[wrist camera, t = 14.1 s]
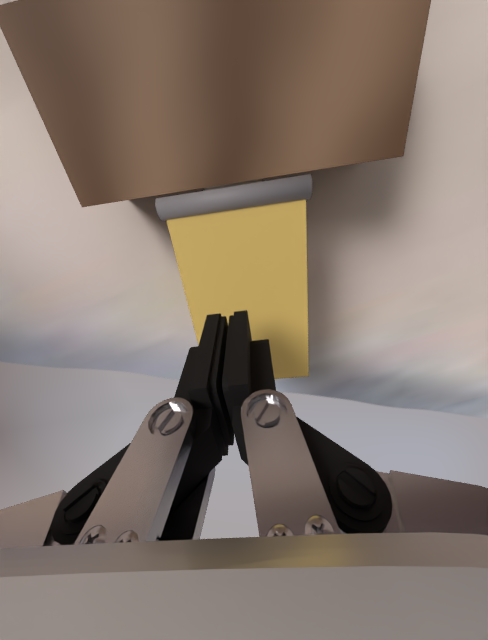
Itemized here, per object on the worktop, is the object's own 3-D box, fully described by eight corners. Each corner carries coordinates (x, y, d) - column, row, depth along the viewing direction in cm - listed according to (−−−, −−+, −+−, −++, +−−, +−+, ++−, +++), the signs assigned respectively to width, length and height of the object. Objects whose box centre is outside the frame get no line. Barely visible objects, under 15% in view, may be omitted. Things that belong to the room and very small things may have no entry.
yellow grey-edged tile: (207, 376, 15) (204, 387, 14) (161, 198, 11) (153, 198, 10) (309, 368, 14) (313, 379, 13) (307, 175, 10) (312, 172, 9)
